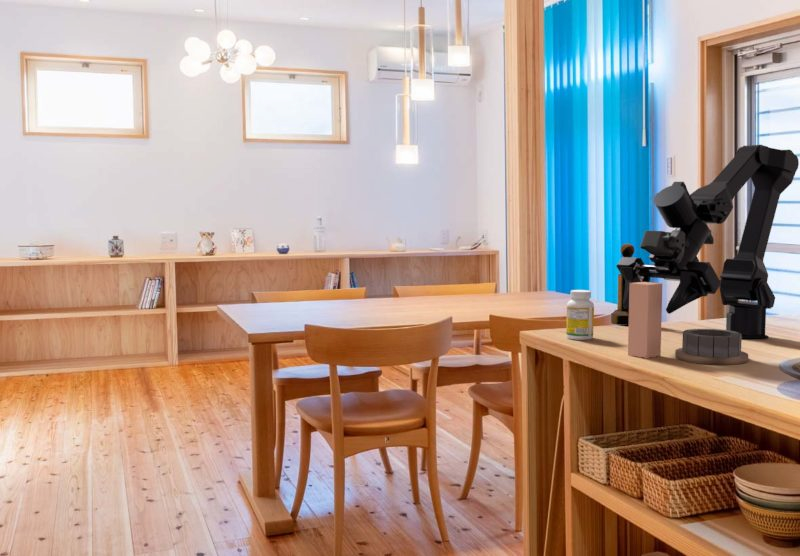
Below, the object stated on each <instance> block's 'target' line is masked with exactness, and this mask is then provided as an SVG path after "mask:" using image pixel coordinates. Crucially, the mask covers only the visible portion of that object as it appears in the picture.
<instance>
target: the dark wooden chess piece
mask: <svg viewBox="0 0 800 556" xmlns="http://www.w3.org/2000/svg"><path fill="white" fill-rule="evenodd" d="M634 253H635V246H634V245H633V244H631V243H624V244H622V245H621V246H620V254H621V256H622V257H632V256H633V255H634ZM625 284H626V281H625V279H624V278H623V276H622V274H621V273H618V274H617V309H615V310H614V311H612V312H611V315H610V324H613V325H618V326H619V325H620V326H629V307H628V308H624V307H623V298H624V292H625Z"/></svg>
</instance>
